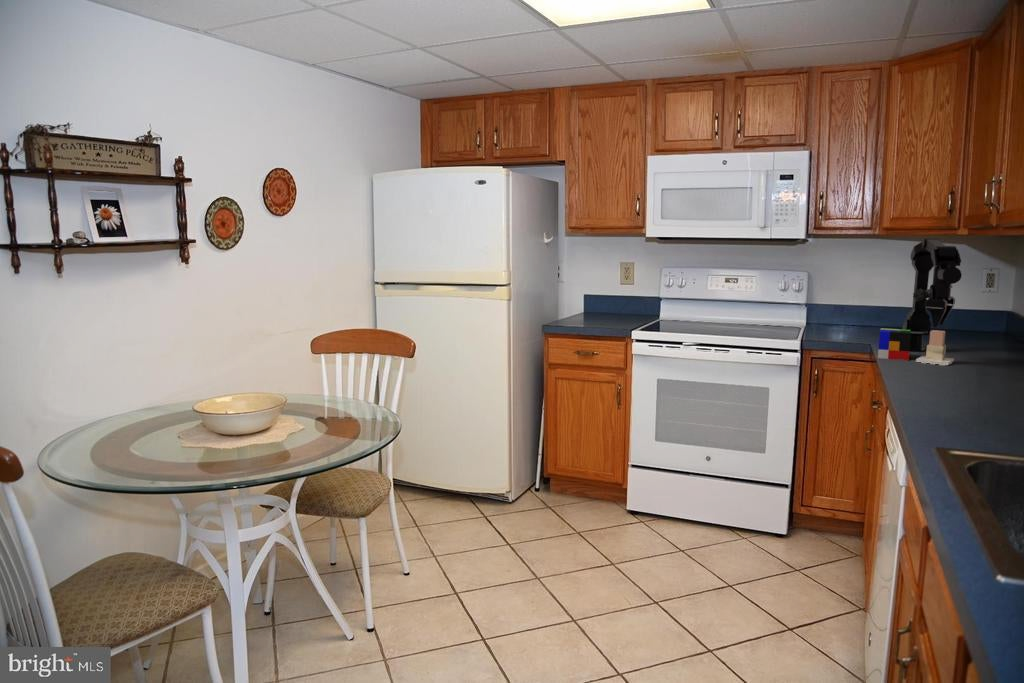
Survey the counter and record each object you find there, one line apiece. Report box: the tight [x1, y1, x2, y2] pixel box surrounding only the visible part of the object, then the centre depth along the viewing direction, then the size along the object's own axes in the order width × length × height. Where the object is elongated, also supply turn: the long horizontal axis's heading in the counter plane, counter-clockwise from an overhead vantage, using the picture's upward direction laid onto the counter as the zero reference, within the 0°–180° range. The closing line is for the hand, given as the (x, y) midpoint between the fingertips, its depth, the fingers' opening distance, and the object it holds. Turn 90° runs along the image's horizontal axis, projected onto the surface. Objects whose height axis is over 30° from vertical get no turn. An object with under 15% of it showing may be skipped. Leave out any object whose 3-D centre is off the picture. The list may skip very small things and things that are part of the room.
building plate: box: [915, 355, 955, 366], centre depth 259 cm, size 10×10×1 cm
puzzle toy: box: [877, 328, 912, 361], centre depth 269 cm, size 10×10×10 cm
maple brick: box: [925, 343, 947, 361], centre depth 258 cm, size 5×5×5 cm
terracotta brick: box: [928, 329, 946, 346], centre depth 258 cm, size 4×4×5 cm
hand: (938, 326), depth 257 cm, fingers open, 9 cm apart
